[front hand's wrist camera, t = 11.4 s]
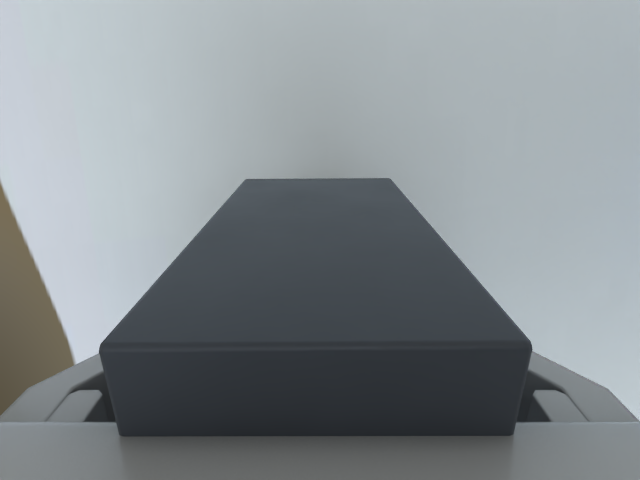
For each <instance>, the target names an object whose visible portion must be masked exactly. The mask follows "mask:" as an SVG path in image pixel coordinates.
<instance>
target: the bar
mask: <svg viewBox="0 0 640 480" xmlns="http://www.w3.org/2000/svg"><path fill="white" fill-rule="evenodd" d="M531 353H532V345H531V341H530V340H529V339H528V338H527V337H526V336H525V334H524V333H523V332H522V331H521V330H520V329H519V328H518V326H517V325H516V324H515V323H514V322H513V321H512V319H511V318H510V317H509V316H508V315H507V314H506V312H505V311H504V310H503V309H502V308H501V307H500V305H499V304H498V303H497V302H496V301H495V300H494V298H493V297H492V296H491V295H490V294H489V293H488V292H487V290H486V289H485V288H484V287H483V286H482V285H481V283H480V282H479V281H478V280H477V279H476V278H475V276H474V275H473V274H472V273H471V272H470V271H469V269H468V268H467V267H466V266H465V265H464V264H463V263H462V261H461V260H460V259H459V258H458V257H457V256H456V254H455V253H454V252H453V251H452V250H451V249H450V247H449V246H448V245H447V244H446V243H445V242H444V240H443V239H442V238H441V237H440V236H439V235H438V233H437V232H436V231H435V230H434V229H433V228H432V227H431V225H430V224H429V223H428V222H427V221H426V220H425V218H424V217H423V216H422V215H421V214H420V213H419V211H418V210H417V209H416V208H415V207H414V206H413V204H412V203H411V202H410V201H409V200H408V199H407V197H406V196H405V195H404V194H403V193H402V192H401V191H400V189H399V188H398V187H397V186H396V185H395V184H394V182H393V181H392V180H391V179H389V178H359V179H246V180H245V181H244V182H243V183H242V184H241V185H240V186H239V187H238V189H237V190H236V191H235V192H234V193H233V194H232V195H231V197H230V198H229V199H228V200H227V201H226V202H225V203H224V204H223V206H222V207H221V208H220V209H219V210H218V211H217V212H216V214H215V215H214V216H213V217H212V218H211V219H210V220H209V222H208V223H207V224H206V225H205V226H204V227H203V228H202V229H201V231H200V232H199V233H198V234H197V235H196V236H195V237H194V239H193V240H192V241H191V242H190V243H189V244H188V245H187V247H186V248H185V249H184V250H183V251H182V252H181V253H180V254H179V256H178V257H177V258H176V259H175V260H174V261H173V262H172V264H171V265H170V266H169V267H168V268H167V269H166V270H165V272H164V273H163V274H162V275H161V276H160V277H159V278H158V280H157V281H156V282H155V283H154V284H153V285H152V286H151V287H150V289H149V290H148V291H147V292H146V293H145V294H144V295H143V297H142V298H141V299H140V300H139V301H138V302H137V303H136V305H135V306H134V307H133V308H132V309H131V310H130V311H129V312H128V314H127V315H126V316H125V317H124V318H123V319H122V320H121V322H120V323H119V324H118V325H117V326H116V327H115V328H114V330H113V331H112V332H111V333H110V334H109V335H108V336H107V337H106V339H105V340H104V341H103V342H102V343H101V345H100V348H99V354H100V358H101V363H102V367H103V371H104V375H105V379H106V383H107V387H108V391H109V395H110V399H111V403H112V408H113V412H114V416H115V420H116V424H117V428H118V432H119V435H120V436H123V437H129V436H510V435H513V434H514V430H515V425H516V421H517V416H518V412H519V407H520V403H521V398H522V394H523V389H524V385H525V380H526V376H527V371H528V367H529V362H530V358H531Z"/></svg>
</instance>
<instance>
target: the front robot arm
mask: <svg viewBox="0 0 640 480" xmlns="http://www.w3.org/2000/svg"><path fill="white" fill-rule="evenodd" d="M0 480H640V421H639V420H638V419H637V418H636V417H635V416H634V415H633V414H632V413H631V412H630V411H629V410H628V409H627V408H626V407H625V406H624V405H623V404H622V403H621V402H620V401H619V400H618V399H617V398H616V397H615V396H614V395H613V394H612V393H611V392H610V391H609V389H607V388H605V387H603V386H601V385H599V384H597V383H595V382H593V381H591V380H589V379H587V378H585V377H583V376H581V375H579V374H577V373H575V372H573V371H571V370H569V369H567V368H565V367H563V366H561V365H559V364H557V363H555V362H553V361H551V360H549V359H547V358H545V357H543V356H541V355H539V354H537V353H535V352H533V351H532V353H531V358H530V362H529V367H528V371H527V376H526V380H525V385H524V389H523V394H522V398H521V403H520V407H519V412H518V416H517V421H516V425H515V430H514V434H513V435H510V436H129V437H123V436H120V435H119V432H118V428H117V424H116V420H115V416H114V412H113V408H112V403H111V399H110V395H109V391H108V387H107V383H106V379H105V375H104V371H103V367H102V363H101V358H100V354H97V355H95V356H93V357H91V358H89V359H86V360H84V361H82V362H80V363H78V364H76V365H74V366H72V367H70V368H68V369H66V370H64V371H62V372H60V373H58V374H56V375H54V376H52V377H50V378H48V379H46V380H44V381H42V382H40V383H38V384H36V385H34V386H32V387H30V388H28V389H27V390H26V391H25V392H24V393H23V394H22V395H21V396H20V397H19V398H18V399H17V400H16V401H15V402H14V403H13V404H12V405H11V406H10V407H9V408H8V409H7V410H6V411H5V412H4V413H3V414H2V415H1V416H0Z"/></svg>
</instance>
